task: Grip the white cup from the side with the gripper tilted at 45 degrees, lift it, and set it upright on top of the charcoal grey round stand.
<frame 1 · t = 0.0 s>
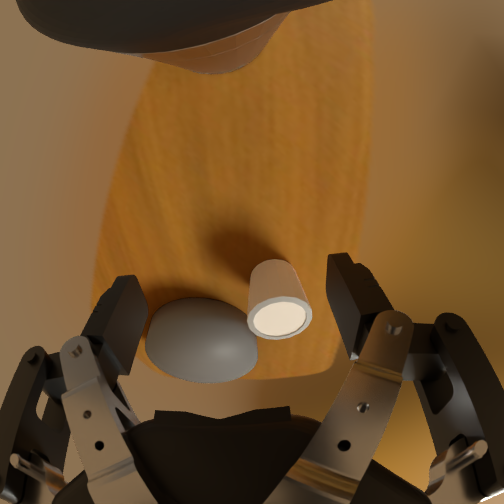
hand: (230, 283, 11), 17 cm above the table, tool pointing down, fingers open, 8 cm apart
white cup: (273, 276, 34), on the table
stand: (202, 335, 39), on the table
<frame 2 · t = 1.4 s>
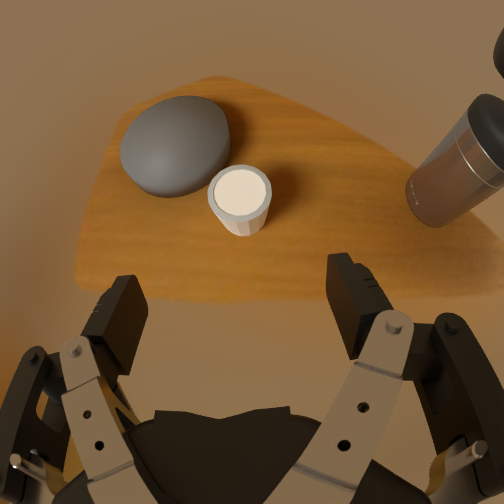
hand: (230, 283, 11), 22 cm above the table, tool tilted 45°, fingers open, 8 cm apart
white cup: (244, 215, 35), on the table
stand: (178, 150, 38), on the table
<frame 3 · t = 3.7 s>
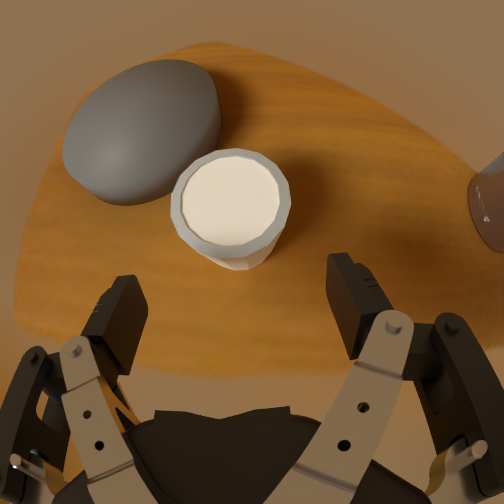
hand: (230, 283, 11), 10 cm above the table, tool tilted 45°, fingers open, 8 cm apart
white cup: (239, 236, 22), on the table
stand: (145, 135, 25), on the table
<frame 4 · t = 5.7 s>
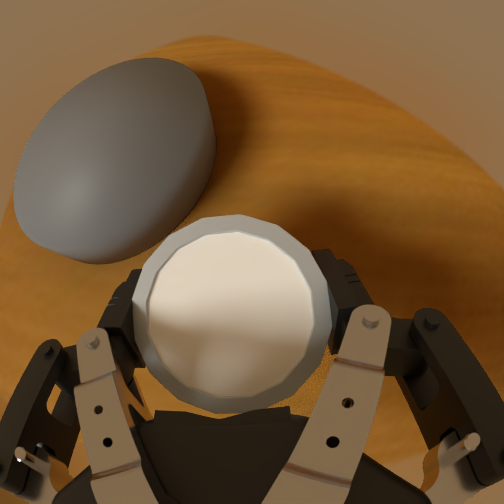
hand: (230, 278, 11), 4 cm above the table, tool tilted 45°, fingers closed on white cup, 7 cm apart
white cup: (243, 317, 16), on the table, touching gripper
stand: (115, 161, 18), on the table
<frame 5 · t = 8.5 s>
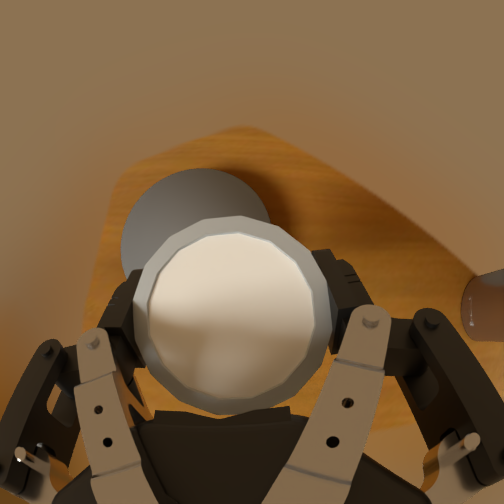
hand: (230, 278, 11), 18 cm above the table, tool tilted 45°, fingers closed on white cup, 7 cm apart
white cup: (243, 317, 16), point 14 cm above the table, touching gripper
stand: (199, 248, 31), on the table
when the fingers open (10 cm above the table, at t = 11.3 s): white cup drops 1 cm, resting on stand.
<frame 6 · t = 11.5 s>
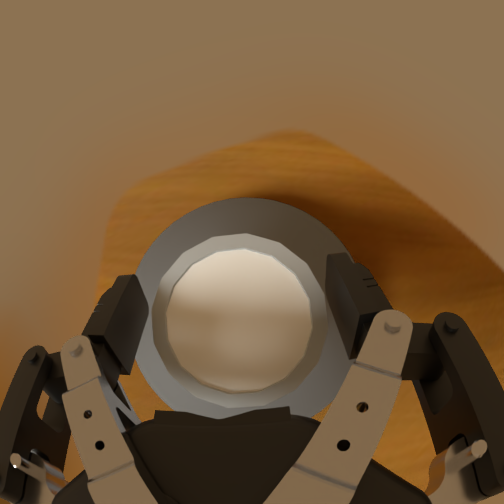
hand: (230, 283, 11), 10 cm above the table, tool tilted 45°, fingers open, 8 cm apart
white cup: (247, 321, 17), point 4 cm above the table, touching stand
stand: (247, 317, 21), on the table
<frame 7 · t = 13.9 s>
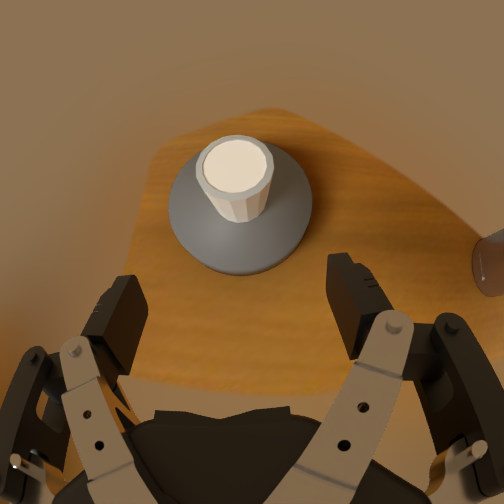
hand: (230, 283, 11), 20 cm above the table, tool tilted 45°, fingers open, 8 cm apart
white cup: (240, 199, 30), point 4 cm above the table, touching stand
stand: (241, 210, 33), on the table
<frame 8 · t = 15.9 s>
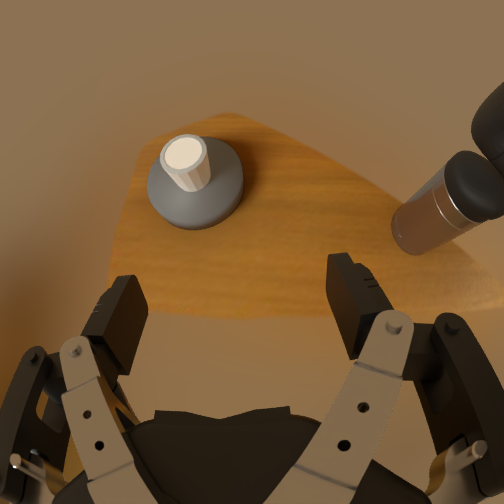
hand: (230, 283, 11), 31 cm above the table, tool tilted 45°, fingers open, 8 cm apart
white cup: (194, 177, 42), point 4 cm above the table, touching stand
stand: (198, 186, 46), on the table
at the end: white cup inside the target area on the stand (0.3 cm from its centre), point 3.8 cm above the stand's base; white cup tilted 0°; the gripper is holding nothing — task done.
